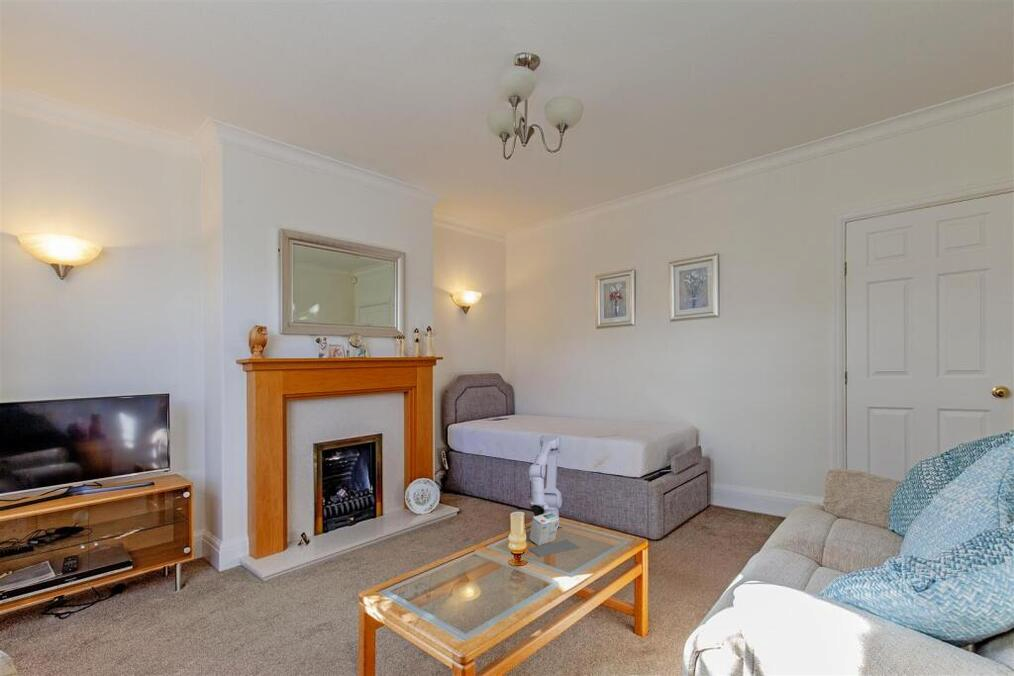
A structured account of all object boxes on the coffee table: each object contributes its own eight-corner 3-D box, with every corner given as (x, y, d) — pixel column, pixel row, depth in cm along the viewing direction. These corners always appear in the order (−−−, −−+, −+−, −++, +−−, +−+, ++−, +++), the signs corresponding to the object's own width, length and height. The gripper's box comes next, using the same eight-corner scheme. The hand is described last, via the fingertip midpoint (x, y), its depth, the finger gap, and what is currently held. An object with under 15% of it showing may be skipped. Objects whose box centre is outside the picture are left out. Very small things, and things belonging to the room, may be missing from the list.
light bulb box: (545, 532, 221) (549, 511, 219) (555, 540, 216) (559, 518, 214) (528, 538, 214) (532, 516, 213) (538, 546, 209) (542, 523, 208)
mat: (527, 548, 207) (527, 548, 207) (566, 540, 215) (566, 539, 215) (539, 556, 197) (539, 556, 197) (580, 547, 206) (580, 547, 206)
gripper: (522, 489, 223) (523, 519, 222) (537, 496, 210) (539, 527, 209) (536, 487, 227) (537, 516, 225) (551, 493, 213) (553, 525, 212)
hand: (539, 522), depth 218 cm, fingers closed
